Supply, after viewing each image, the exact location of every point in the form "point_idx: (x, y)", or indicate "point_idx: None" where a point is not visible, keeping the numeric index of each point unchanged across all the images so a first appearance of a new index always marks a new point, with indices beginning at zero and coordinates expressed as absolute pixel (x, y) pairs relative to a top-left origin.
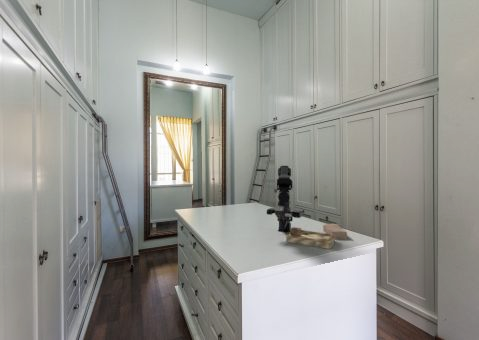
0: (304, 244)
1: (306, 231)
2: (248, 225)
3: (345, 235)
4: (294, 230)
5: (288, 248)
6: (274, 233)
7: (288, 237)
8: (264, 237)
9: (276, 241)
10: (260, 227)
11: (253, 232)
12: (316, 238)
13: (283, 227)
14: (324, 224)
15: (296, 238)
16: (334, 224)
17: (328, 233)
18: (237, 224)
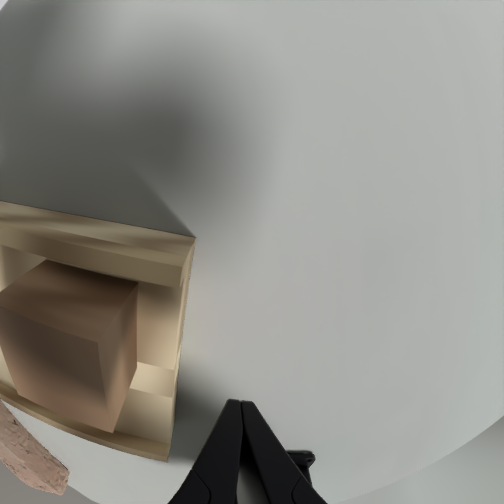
0: (26, 206)
1: (57, 419)
2: (461, 436)
3: None
4: (43, 314)
5: (144, 27)
6: (339, 410)
7: (156, 249)
8: (425, 288)
9: (307, 199)
10: (414, 448)
11: (473, 360)
12: None
13: (246, 409)
14: (51, 489)
15: (59, 228)
16: (25, 480)
17: (11, 424)
18: (496, 417)
